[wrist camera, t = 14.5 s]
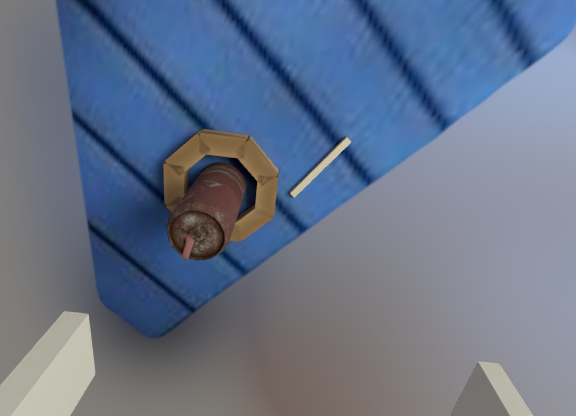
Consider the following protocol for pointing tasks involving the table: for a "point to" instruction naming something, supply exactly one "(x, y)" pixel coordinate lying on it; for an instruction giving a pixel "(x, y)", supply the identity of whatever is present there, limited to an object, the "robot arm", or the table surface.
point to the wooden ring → (234, 148)
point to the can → (207, 213)
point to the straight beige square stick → (320, 167)
